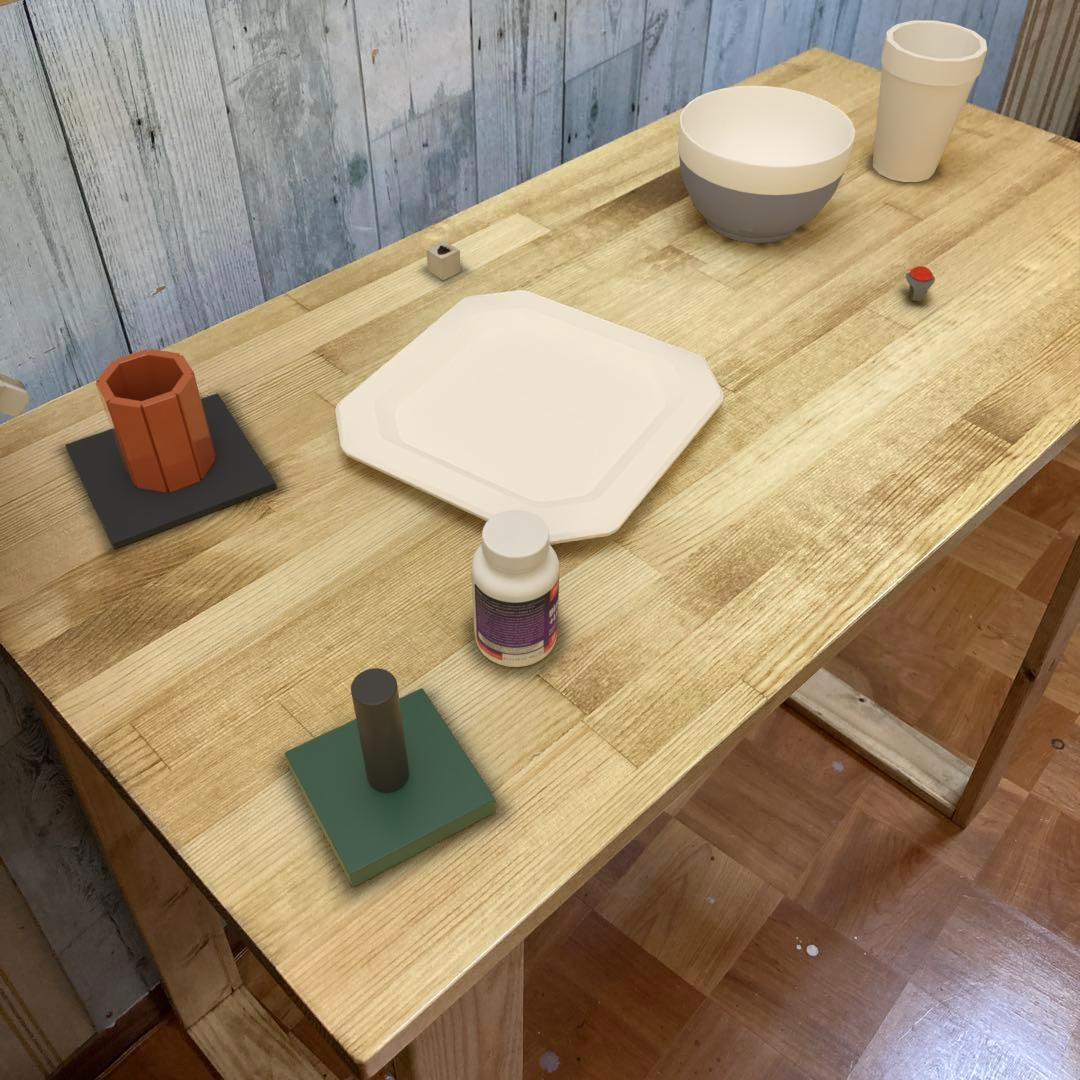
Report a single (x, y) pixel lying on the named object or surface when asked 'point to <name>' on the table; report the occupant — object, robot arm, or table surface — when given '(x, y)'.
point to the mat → (152, 511)
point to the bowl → (762, 159)
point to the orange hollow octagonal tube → (157, 419)
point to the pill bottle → (515, 589)
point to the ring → (919, 282)
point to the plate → (531, 413)
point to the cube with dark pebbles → (443, 260)
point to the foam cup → (922, 94)
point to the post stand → (388, 779)
